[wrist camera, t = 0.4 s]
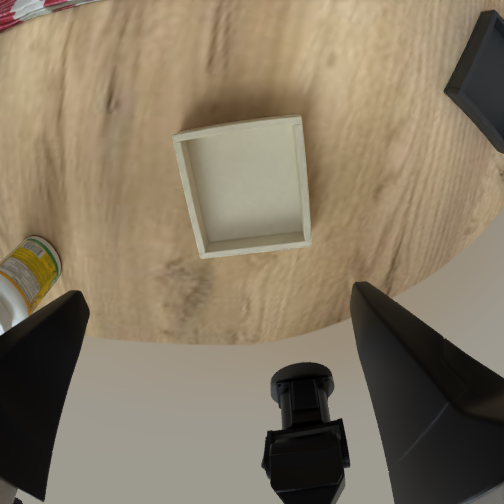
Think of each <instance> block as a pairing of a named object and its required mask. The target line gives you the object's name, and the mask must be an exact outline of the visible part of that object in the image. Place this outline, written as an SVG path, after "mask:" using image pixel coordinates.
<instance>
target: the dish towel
mask: <svg viewBox="0 0 504 504" xmlns="http://www.w3.org/2000/svg"><path fill="white" fill-rule="evenodd" d="M94 1H100V0H0V32H2V31H5V30H7V29H9V28H11V27H14V26H16V25H18V24H20V23H22V22H24V21H26V20H28V19H30V18H33V17H37V16H40V15H44V14H47V13H51V12H55V11H59V10H62V9H66V8H70V7H73V6H78V5H80V4H84V3H89V2H94Z"/></svg>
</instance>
